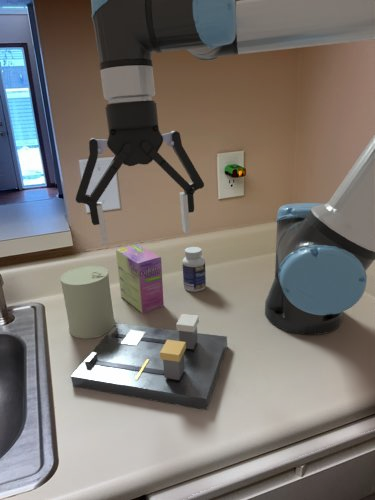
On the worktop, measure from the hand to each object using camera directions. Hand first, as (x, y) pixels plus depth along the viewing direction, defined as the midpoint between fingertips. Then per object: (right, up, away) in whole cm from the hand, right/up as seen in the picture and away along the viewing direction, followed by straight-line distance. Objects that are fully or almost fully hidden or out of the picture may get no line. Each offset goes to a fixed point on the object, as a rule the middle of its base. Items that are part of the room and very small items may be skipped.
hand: (146, 237), depth 64 cm
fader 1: (+5, -21, -4) cm, 22 cm away
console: (+1, -22, +2) cm, 22 cm away
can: (-13, -18, +14) cm, 26 cm away
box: (-3, -14, +23) cm, 27 cm away
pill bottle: (+9, -11, +29) cm, 32 cm away
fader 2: (+7, -18, +3) cm, 20 cm away
